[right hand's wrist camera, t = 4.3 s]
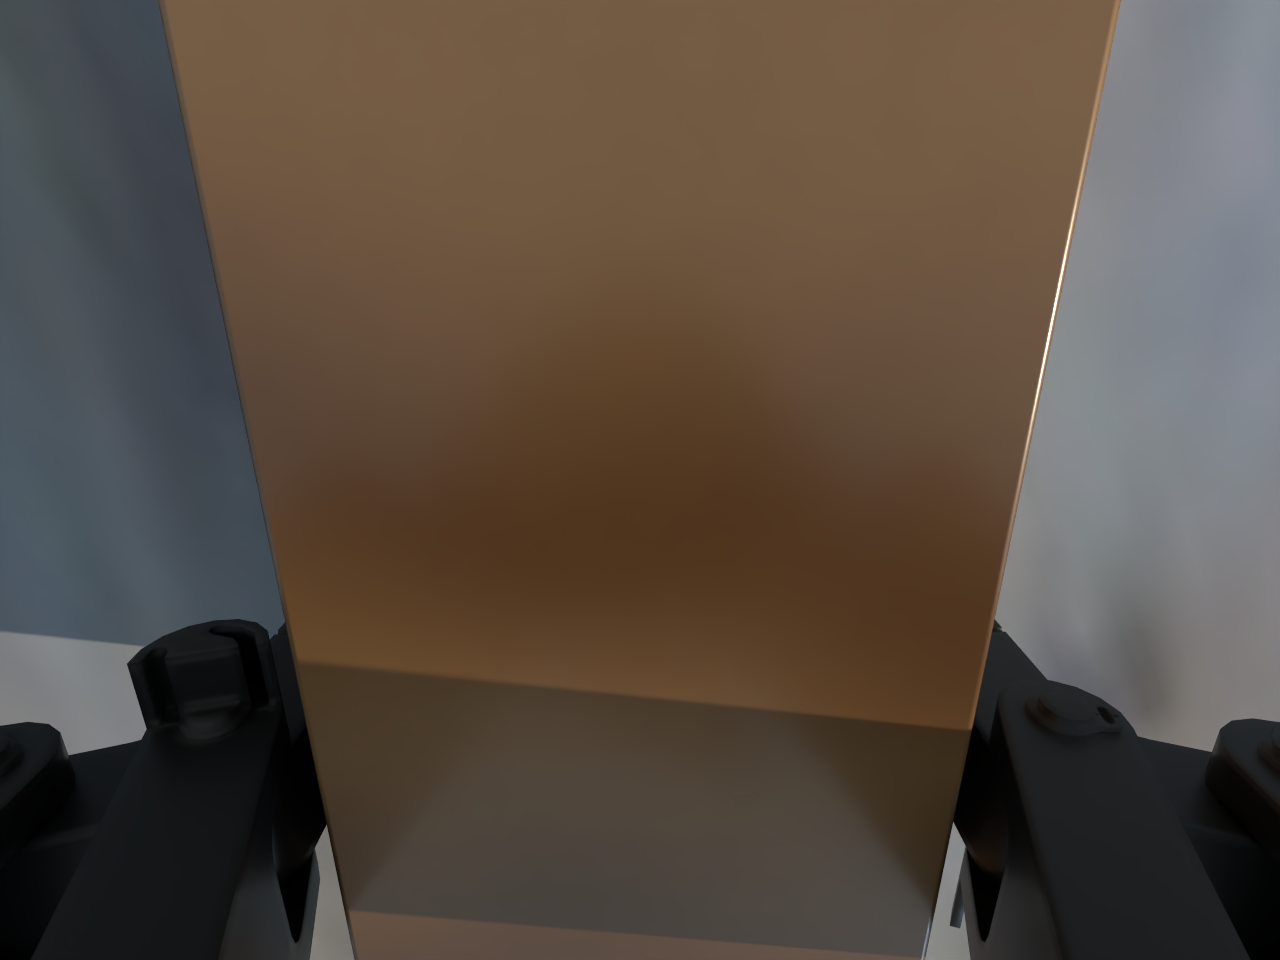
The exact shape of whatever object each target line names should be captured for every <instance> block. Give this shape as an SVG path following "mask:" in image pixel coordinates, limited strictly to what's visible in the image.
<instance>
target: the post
mask: <svg viewBox="0 0 1280 960" xmlns="http://www.w3.org/2000/svg"><path fill="white" fill-rule="evenodd" d="M1120 2H1121V0H158V3H159V8H160V12H161V17H162V22H163V27H164V32H165V37H166V42H167V47H168V51H169V56H170V61H171V66H172V71H173V76H174V81H175V86H176V91H177V95H178V100H179V105H180V110H181V115H182V120H183V125H184V130H185V134H186V139H187V144H188V149H189V154H190V159H191V164H192V169H193V173H194V178H195V183H196V188H197V193H198V198H199V203H200V208H201V213H202V217H203V222H204V227H205V232H206V237H207V242H208V247H209V252H210V256H211V261H212V266H213V271H214V276H215V281H216V286H217V291H218V295H219V300H220V305H221V310H222V315H223V320H224V325H225V330H226V335H227V339H228V344H229V349H230V354H231V359H232V364H233V369H234V374H235V378H236V383H237V388H238V393H239V398H240V403H241V408H242V413H243V418H244V422H245V427H246V432H247V437H248V442H249V447H250V452H251V457H252V461H253V466H254V471H255V476H256V481H257V486H258V491H259V496H260V500H261V505H262V510H263V515H264V520H265V525H266V530H267V535H268V540H269V544H270V549H271V554H272V559H273V564H274V569H275V574H276V579H277V583H278V588H279V593H280V598H281V603H282V608H283V613H284V618H285V622H286V627H287V632H288V637H289V642H290V647H291V652H292V657H293V662H294V666H295V671H296V676H297V681H298V686H299V691H300V696H301V701H302V705H303V710H304V715H305V720H306V725H307V730H308V735H309V740H310V745H311V749H312V754H313V759H314V764H315V769H316V774H317V779H318V784H319V788H320V793H321V798H322V803H323V808H324V813H325V818H326V823H327V827H328V832H329V837H330V842H331V847H332V852H333V857H334V862H335V867H336V871H337V876H338V881H339V886H340V891H341V896H342V901H343V906H344V910H345V915H346V920H347V925H348V930H349V935H350V940H351V945H352V949H353V954H354V959H355V960H925V957H926V952H927V947H928V942H929V937H930V932H931V927H932V922H933V917H934V912H935V908H936V903H937V898H938V893H939V888H940V883H941V878H942V873H943V868H944V864H945V859H946V854H947V849H948V844H949V839H950V834H951V829H952V824H953V820H954V815H955V810H956V805H957V800H958V795H959V790H960V785H961V780H962V775H963V771H964V766H965V761H966V756H967V751H968V746H969V741H970V736H971V731H972V727H973V722H974V717H975V712H976V707H977V702H978V697H979V692H980V687H981V683H982V678H983V673H984V668H985V663H986V658H987V653H988V648H989V643H990V638H991V634H992V629H993V624H994V619H995V614H996V609H997V604H998V599H999V594H1000V590H1001V585H1002V580H1003V575H1004V570H1005V565H1006V560H1007V555H1008V550H1009V545H1010V541H1011V536H1012V531H1013V526H1014V521H1015V516H1016V511H1017V506H1018V501H1019V497H1020V492H1021V487H1022V482H1023V477H1024V472H1025V467H1026V462H1027V457H1028V453H1029V448H1030V443H1031V438H1032V433H1033V428H1034V423H1035V418H1036V413H1037V408H1038V404H1039V399H1040V394H1041V389H1042V384H1043V379H1044V374H1045V369H1046V364H1047V360H1048V355H1049V350H1050V345H1051V340H1052V335H1053V330H1054V325H1055V320H1056V315H1057V311H1058V306H1059V301H1060V296H1061V291H1062V286H1063V281H1064V276H1065V271H1066V267H1067V262H1068V257H1069V252H1070V247H1071V242H1072V237H1073V232H1074V227H1075V223H1076V218H1077V213H1078V208H1079V203H1080V198H1081V193H1082V188H1083V183H1084V178H1085V174H1086V169H1087V164H1088V159H1089V154H1090V149H1091V144H1092V139H1093V134H1094V130H1095V125H1096V120H1097V115H1098V110H1099V105H1100V100H1101V95H1102V90H1103V86H1104V81H1105V76H1106V71H1107V66H1108V61H1109V56H1110V51H1111V46H1112V41H1113V37H1114V32H1115V27H1116V22H1117V17H1118V12H1119V7H1120Z"/></svg>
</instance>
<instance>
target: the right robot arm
mask: <svg viewBox="0 0 1280 960" xmlns="http://www.w3.org/2000/svg"><path fill="white" fill-rule="evenodd" d="M127 665H128V669H129V672H130V675H131V679H132V682H133V685H134V688H135V692H136V695H137V698H138V702H139V705H140V708H141V712H142V715H143V718H144V721H145V725H146V728H147V730H146V732H145V734H144V736H143V738H142V740H139V741H135V742H131V743H127V744H122V745H117V746H112V747H107V748H102V749H98V750H93V751H88V752H83V753H78V754H73V755H68V753H67V750H66V747H65V744H64V742H63V739H62V736H61V733H60V732H59V731H58V730H56V729H55V728H53V727H52V726H51V725H49V724H43V723H33V722H24V723H17V724H10V725H3V726H0V960H310V952H311V945H312V937H313V930H314V922H315V914H316V907H317V899H318V891H319V884H320V875H319V867H318V861H317V857H316V852H315V846H316V844H317V842H318V840H319V838H320V836H321V834H322V833H323V831H324V829H325V827H326V825H327V823H326V818H325V813H324V808H323V803H322V798H321V793H320V788H319V784H318V779H317V774H316V769H315V764H314V759H313V754H312V749H311V745H310V740H309V735H308V730H307V725H306V720H305V715H304V710H303V705H302V701H301V696H300V691H299V686H298V681H297V676H296V671H295V666H294V662H293V657H292V652H291V647H290V642H289V637H288V632H287V627H286V622H285V623H284V624H283V625H282V626H281V628H280V629H279V630H278V635H274V636H273V637H272V638H271V639H269V635H268V631H267V630H266V629H265V628H263V627H262V626H261V625H259V624H258V623H256V622H250V621H245V620H240V619H234V620H215V621H210V622H206V623H201V624H197V625H192V626H188V627H186V628H183V629H180V630H178V631H175V632H173V633H170V634H168V635H165V636H162V637H161V638H159V639H157V640H156V641H154V642H153V643H151V644H149V645H148V646H146V647H144V648H143V649H141V650H140V651H139V652H138V653H137V654H136V655H135V656H134V657H133V658H132V659H131V660H130V661H129V662H128V663H127ZM953 822H954V824H955V826H956V828H957V830H958V832H959V834H960V836H961V837H962V839H963V841H964V843H965V845H966V847H965V852H964V857H963V861H962V866H961V870H960V875H959V880H958V884H957V889H956V894H955V898H954V903H953V907H952V914H951V921H950V926H953V927H957V928H960V926H961V921H962V917H963V913H964V912H965V920H966V928H967V935H968V943H969V950H970V958H971V960H1280V722H1274V721H1267V720H1260V719H1243V720H1234V721H1231V722H1229V723H1228V724H1226V725H1225V726H1224V727H1222V728H1221V729H1220V731H1219V734H1218V737H1217V740H1216V743H1215V745H1214V748H1213V751H1212V752H1208V751H1203V750H1199V749H1194V748H1189V747H1184V746H1179V745H1174V744H1169V743H1164V742H1159V741H1154V740H1150V739H1146V738H1142V737H1138V736H1137V734H1136V732H1135V730H1134V728H1133V727H1132V726H1131V725H1130V723H1129V722H1128V721H1127V720H1126V718H1125V717H1124V716H1123V715H1122V714H1121V712H1119V711H1118V710H1116V709H1115V708H1114V707H1112V706H1111V705H1109V704H1108V703H1107V702H1105V701H1104V700H1102V699H1101V698H1099V697H1097V696H1095V695H1092V694H1090V693H1088V692H1086V691H1084V690H1081V689H1079V688H1077V687H1074V686H1070V685H1066V684H1062V683H1058V682H1055V681H1051V680H1047V679H1046V678H1045V677H1044V675H1043V674H1042V673H1041V672H1040V671H1039V670H1038V669H1037V667H1036V666H1035V665H1034V664H1033V663H1032V662H1031V661H1030V659H1029V658H1028V657H1027V656H1026V655H1025V654H1024V653H1023V651H1022V650H1021V649H1020V648H1019V647H1018V646H1017V644H1016V643H1015V642H1014V641H1013V640H1012V639H1011V638H1010V636H1009V635H1008V634H1007V633H1006V632H1002V627H1001V626H1000V625H999V624H998V623H997V622H996V620H995V619H994V624H993V629H992V634H991V638H990V643H989V648H988V653H987V658H986V663H985V668H984V673H983V678H982V683H981V687H980V692H979V697H978V702H977V707H976V712H975V717H974V722H973V727H972V731H971V736H970V741H969V746H968V751H967V756H966V761H965V766H964V771H963V775H962V780H961V785H960V790H959V795H958V800H957V805H956V810H955V815H954V820H953Z"/></svg>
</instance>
